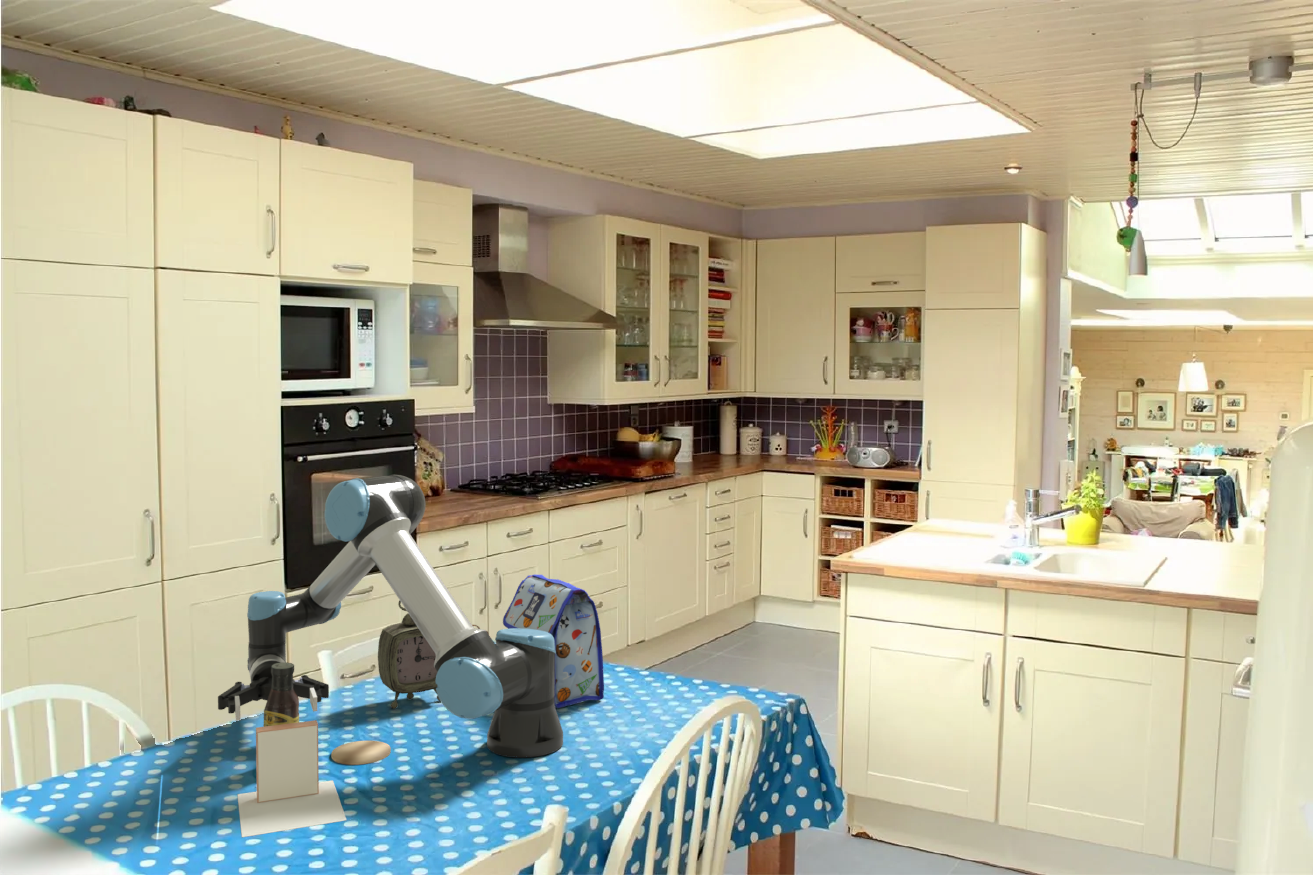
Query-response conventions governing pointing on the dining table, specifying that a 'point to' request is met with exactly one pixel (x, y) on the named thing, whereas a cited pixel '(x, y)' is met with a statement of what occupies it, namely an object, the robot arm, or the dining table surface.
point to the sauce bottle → (281, 697)
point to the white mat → (289, 811)
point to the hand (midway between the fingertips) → (277, 708)
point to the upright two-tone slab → (287, 761)
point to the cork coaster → (361, 752)
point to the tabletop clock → (406, 659)
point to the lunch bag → (563, 634)
